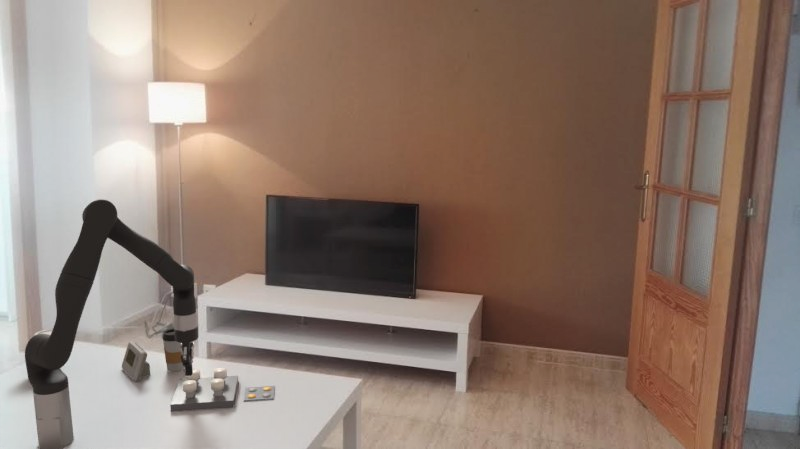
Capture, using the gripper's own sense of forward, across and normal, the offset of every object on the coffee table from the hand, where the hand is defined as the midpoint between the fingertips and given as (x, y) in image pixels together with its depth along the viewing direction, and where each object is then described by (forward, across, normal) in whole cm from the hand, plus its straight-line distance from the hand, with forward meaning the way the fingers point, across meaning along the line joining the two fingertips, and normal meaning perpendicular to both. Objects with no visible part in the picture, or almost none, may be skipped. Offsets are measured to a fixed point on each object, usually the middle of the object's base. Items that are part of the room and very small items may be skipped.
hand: (189, 374), depth 218 cm
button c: (+8, -9, 0) cm, 12 cm away
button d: (+8, -8, +9) cm, 15 cm away
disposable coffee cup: (+10, -36, -55) cm, 67 cm away
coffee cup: (+10, -29, -9) cm, 32 cm away
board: (+10, -4, +5) cm, 12 cm away
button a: (+8, 0, 0) cm, 8 cm away
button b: (+8, +1, +9) cm, 12 cm away
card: (+10, -3, +22) cm, 25 cm away
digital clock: (+10, -27, -24) cm, 38 cm away
